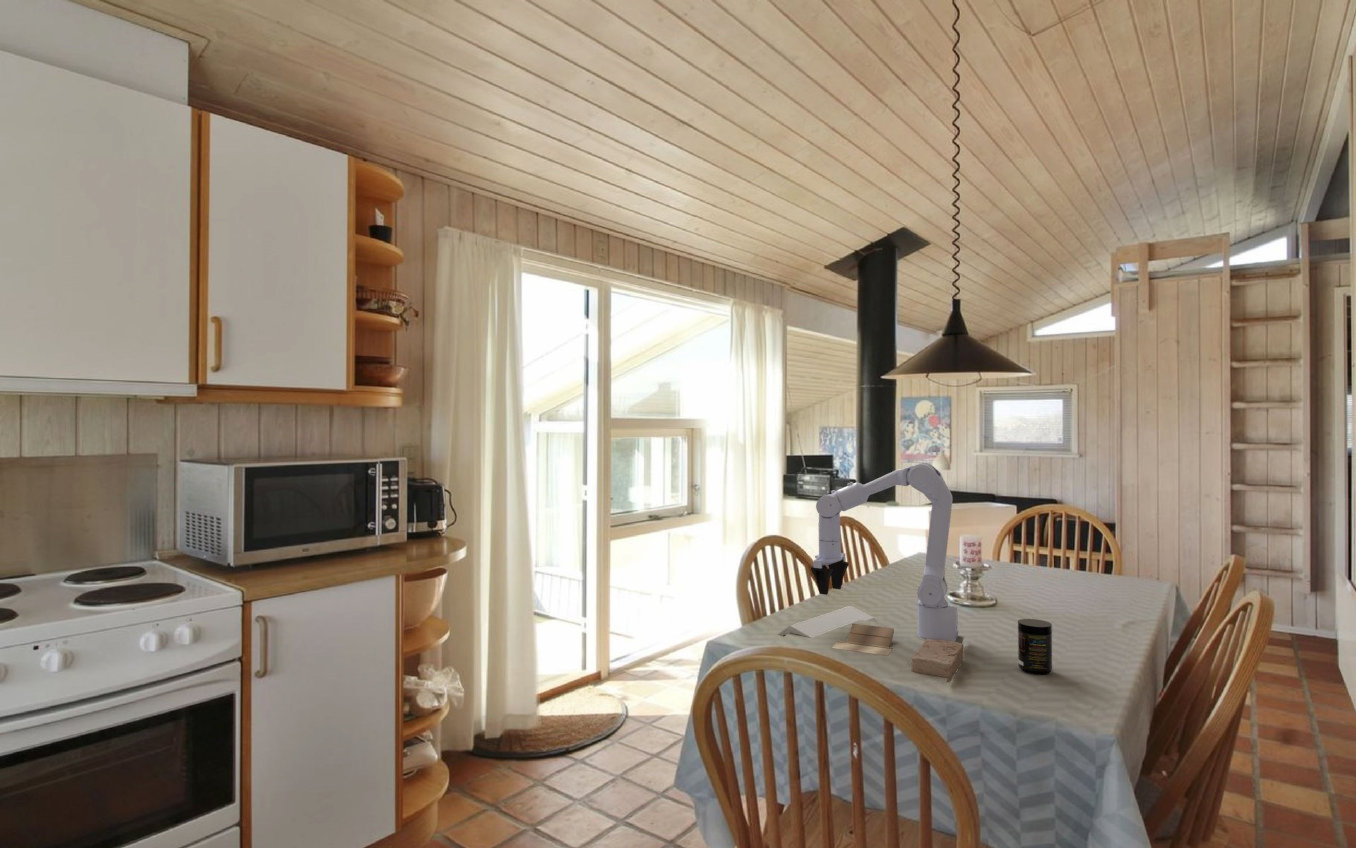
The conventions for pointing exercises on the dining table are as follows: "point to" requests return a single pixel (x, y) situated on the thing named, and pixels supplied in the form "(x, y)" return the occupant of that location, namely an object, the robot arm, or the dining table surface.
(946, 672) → the brick
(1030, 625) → the supplement container
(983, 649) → the dining table surface
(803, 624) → the crown molding
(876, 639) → the plank
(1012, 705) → the dining table surface
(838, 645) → the floor strip
